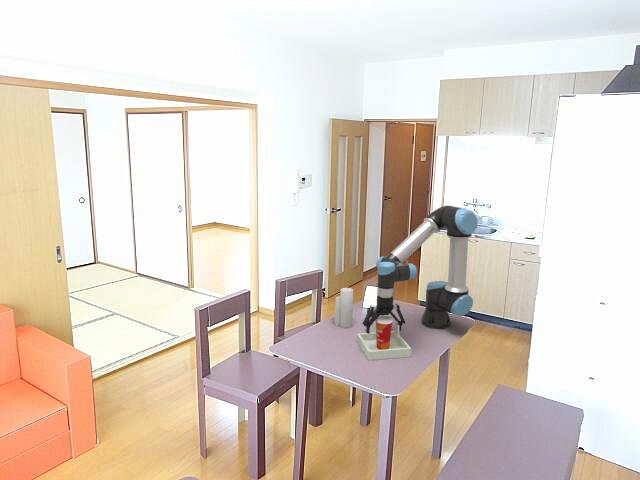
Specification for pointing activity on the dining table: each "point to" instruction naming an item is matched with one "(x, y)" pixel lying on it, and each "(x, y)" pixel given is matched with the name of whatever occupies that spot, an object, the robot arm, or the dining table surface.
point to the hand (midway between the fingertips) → (383, 338)
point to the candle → (344, 308)
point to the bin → (395, 350)
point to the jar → (373, 323)
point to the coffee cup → (383, 331)
